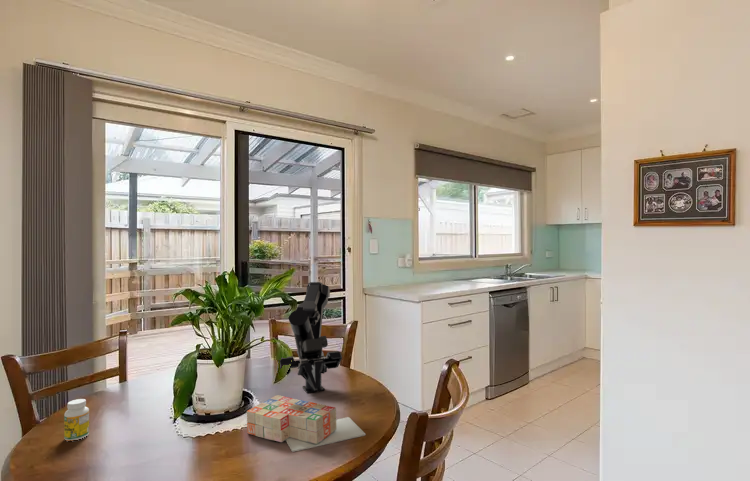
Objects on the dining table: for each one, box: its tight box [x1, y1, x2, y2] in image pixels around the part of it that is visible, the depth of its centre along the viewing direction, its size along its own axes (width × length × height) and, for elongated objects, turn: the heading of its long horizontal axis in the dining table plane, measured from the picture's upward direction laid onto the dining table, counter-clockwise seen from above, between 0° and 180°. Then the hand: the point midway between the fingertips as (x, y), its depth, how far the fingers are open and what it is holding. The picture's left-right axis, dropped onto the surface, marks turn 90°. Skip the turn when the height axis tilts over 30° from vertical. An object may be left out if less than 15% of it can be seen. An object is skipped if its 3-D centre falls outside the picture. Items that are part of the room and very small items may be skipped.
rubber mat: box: [285, 416, 367, 453], centre depth 109 cm, size 12×20×1 cm, turn 116°
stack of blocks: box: [246, 394, 337, 444], centre depth 110 cm, size 21×6×12 cm
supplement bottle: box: [63, 398, 90, 441], centre depth 108 cm, size 5×5×10 cm
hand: (316, 389), depth 115 cm, fingers closed
